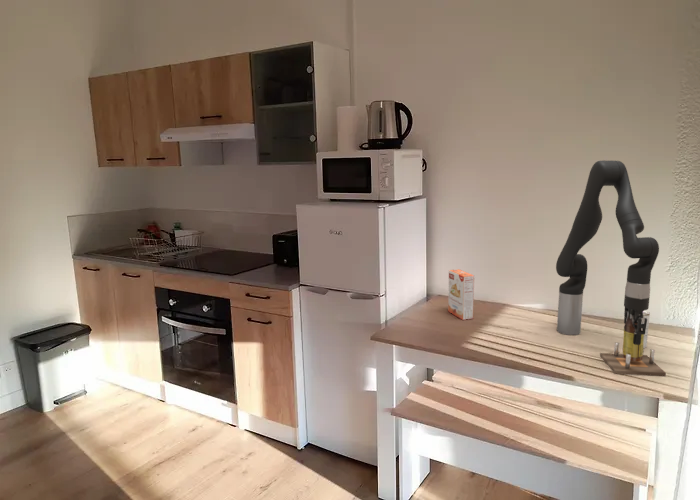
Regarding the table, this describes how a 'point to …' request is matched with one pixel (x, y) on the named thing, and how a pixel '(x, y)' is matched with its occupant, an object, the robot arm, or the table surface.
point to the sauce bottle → (631, 341)
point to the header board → (632, 365)
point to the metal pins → (628, 356)
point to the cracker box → (461, 294)
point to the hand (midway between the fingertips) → (633, 340)
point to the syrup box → (646, 315)
